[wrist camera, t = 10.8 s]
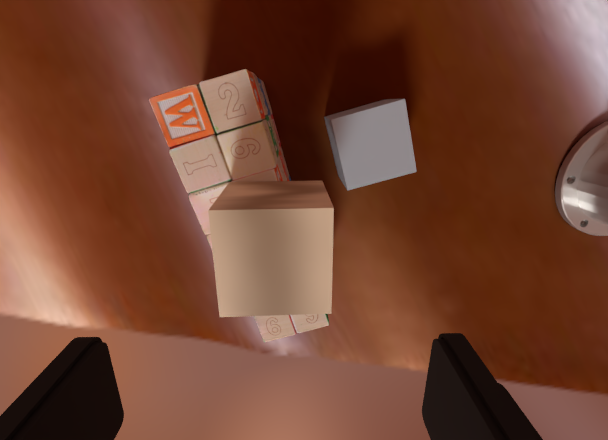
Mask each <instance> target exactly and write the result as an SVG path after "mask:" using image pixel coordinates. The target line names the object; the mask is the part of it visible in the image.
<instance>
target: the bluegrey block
mask: <svg viewBox="0 0 608 440" xmlns="http://www.w3.org/2000/svg"><path fill="white" fill-rule="evenodd" d="M324 119H325V123H326V127H327V131H328V135H329V139H330V143H331V148H332V152H333V156H334V160H335V164H336V168H337V173H338V176H339V178H340V179H341V181H342V183H343V184H344V186H345V187H346V189H347V190H351V189H355V188H359V187H362V186H366V185H370V184H373V183H377V182H381V181H384V180H388V179H392V178H395V177H399V176H403V175H406V174H410V173H414V172H417V171H416V165H415V158H414V152H413V146H412V139H411V133H410V127H409V120H408V114H407V108H406V101H405V99H384V100H381V101H377V102H374V103H370V104H367V105H363V106H360V107H356V108H353V109H349V110H346V111H342V112H339V113H335V114H332V115H329V116H325V117H324Z"/></svg>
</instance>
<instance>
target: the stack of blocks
mask: <svg viewBox="0 0 608 440" xmlns="http://www.w3.org/2000/svg"><path fill="white" fill-rule="evenodd" d="M149 101H150V104H151V106H152V109H153V111H154V113H155V116H156V118H157V120H158V123H159V125H160V128H161V130H162V132H163V135H164V137H165V140H166V142H167V144H168V146H169V147H170V151H169V152H170V155H171V157H172V159H173V162H174V164H175V166H176V169H177V171H178V173H179V175H180V178H181V180H182V182H183V184H184V187H185V189H186V191H187V192H188V193H189V200H190V203H191V205H192V207H193V209H194V212H195V214H196V216H197V218H198V221H199V223H200V225H201V227H202V230H203V232H204V233H205V234H206V235H207V240H208V242H209V244H210V247H211V249H212V241H211V232H210V222H209V213H208V210H209V209H210V207H211V206H212V205H213V203H214V202H215V201H216V199H217V198H218V197H219V195H220V194H221V193H222V191H223V190H224V189H225V187H226V186H227V185H228V183H229V182H262V181H291V178H290V175H289V172H288V169H287V165H286V162H285V158H284V155H283V151H282V148H281V142H280V139H279V135H278V132H277V128H276V125H275V121H274V118H273V114H272V109H271V106H270V102H269V99H268V95H267V92H266V88H265V85H264V82H263V81H262V80H261V79H259V78H257V76H256V75H255V74H254V73H253V72H250V71H249V70H247V69H243V70H240V71H237V72H233V73H230V74H226V75H223V76H220V77H216V78H213V79H209V80H206V81H202V82H200V83H199V85H196V84H195V85H190V86H187V87H183V88H180V89H177V90H173V91H170V92H167V93H164V94H161V95H157V96H154V97H152V98H149ZM212 251H213V250H212ZM254 318H255V321H256V324H257V326H258V328H259V331H260V333H261V336H262V339H263V341H264V342H268V341H272V340H276V339H280V338H284V337H288V336H292V335H295V334H296V333H301V332H305V331H309V330H313V329H316V328H320V327H324V326H328V325H329V319H328V314H303V315H271V316H254Z"/></svg>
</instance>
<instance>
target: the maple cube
mask: <svg viewBox="0 0 608 440" xmlns="http://www.w3.org/2000/svg"><path fill="white" fill-rule="evenodd" d="M208 213H209V222H210V232H211V241H212V250H213V260H214V269H215V278H216V287H217V297H218V306H219V315H220V317H239V316H271V315H303V314H331V306H332V265H333V224H334V207H333V205H332V202H331V200H330V198H329V195H328V193H327V191H326V188H325V186H324V184H323V181H262V182H229V183H228V185H227V186H226V187H225V189H224V190H223V191H222V193H221V194H220V195H219V197H218V198H217V199H216V201H215V202H214V203H213V205H212V206H211V207H210V209H209V210H208Z"/></svg>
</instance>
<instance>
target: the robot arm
mask: <svg viewBox="0 0 608 440" xmlns="http://www.w3.org/2000/svg"><path fill="white" fill-rule="evenodd" d="M555 198H556V204H557V207H558V210H559V212H560V214H561V216H562V217H563V219H564V220H565V221H566V222H567V223H568V224H569V225H571V226H572V227H574V228H576V229H578V230H580V231H582V232H585V233H587V234H591V235H597V236H608V121H606V122H604V123H602V124H600V125H599V126H597V127H595V128H593V129H592V130H591V131H590V132H588V133H587V134H586V135H584V136H583V137H582V138H581V139H580V140H579V141H578V142H577V143H576V144H575V146H574V147H573V148H572V149H571V151H570V152H569V154H568V155H567V156H566V158H565V160H564V162H563V164H562V166H561V168H560V170H559V173H558V177H557V180H556V187H555ZM422 415H423V420H424V423H425V426H426V428H427V431H428V433H429V436H430V438H431V440H543V439H542V438H541V437H540V435H539V434H538V432H537V431H536V430H535V428H534V427H533V426H532V424H531V423H530V422H529V420H528V419H527V417H526V416H525V415H524V413H523V412H522V411H521V409H520V408H519V406H518V405H517V403H516V402H515V401H514V399H513V398H512V397H511V395H510V394H509V392H508V391H507V390H506V389H505V388H504V387H503V385H501V384H499V383H497V381H496V380H495V379H494V377H493V376H492V374H491V373H490V372H489V370H488V369H487V367H486V366H485V364H484V363H483V362H482V360H481V359H480V357H479V356H478V355H477V353H476V352H475V350H474V349H473V348H472V346H471V345H470V343H469V342H468V340H467V339H466V338H465V336H464V335H463V334H461V333H444V334H440V335H439V338H438V339H434V340H433V343H432V349H431V356H430V362H429V368H428V375H427V381H426V387H425V394H424V400H423V406H422ZM123 418H124V412H123V408H122V404H121V399H120V395H119V391H118V387H117V383H116V379H115V375H114V371H113V367H112V363H111V358H110V354H109V350H108V346H107V344H106V343H103V342H102V340H101V339H100V338H99V337H78V338H75V339H73V340H72V341H71V342H70V343H69V344H68V345H67V346H66V347H65V349H64V350H63V351H62V352H61V353H60V354H59V355H58V356H57V357H56V358H55V359H54V360H53V361H52V362H51V363H50V364H49V365H48V366H47V367H46V368H45V369H44V370H43V372H42V373H41V374H40V375H39V376H38V377H37V378H36V379H35V380H34V381H33V382H32V383H31V384H30V385H29V387H27V388H26V389H25V390H24V392H23V393H22V394H21V395H20V396H19V397H18V398H17V399H16V400H15V401H14V402H13V403H12V404H11V405H10V406H9V407H8V408H7V410H6V411H5V412H4V413H3V414H2V415H1V416H0V440H114V438H115V437H116V435H117V433H118V431H119V429H120V427H121V425H122V422H123Z"/></svg>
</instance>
